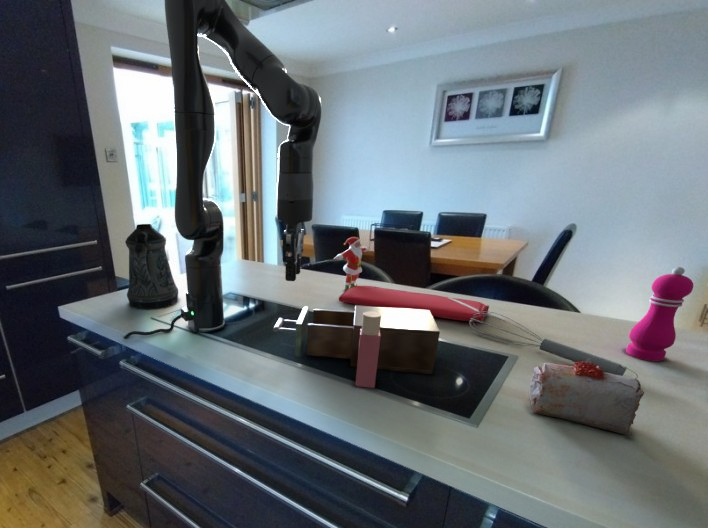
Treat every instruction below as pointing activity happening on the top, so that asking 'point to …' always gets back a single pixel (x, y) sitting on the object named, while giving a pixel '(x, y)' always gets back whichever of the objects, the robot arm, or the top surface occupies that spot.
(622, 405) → the food item
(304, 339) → the drawer
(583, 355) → the kitchen whisk
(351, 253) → the santa figurine
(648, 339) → the pepper mill
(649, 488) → the top surface
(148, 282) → the beer stein
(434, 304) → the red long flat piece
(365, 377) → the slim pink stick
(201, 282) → the robot arm
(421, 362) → the cabinet
